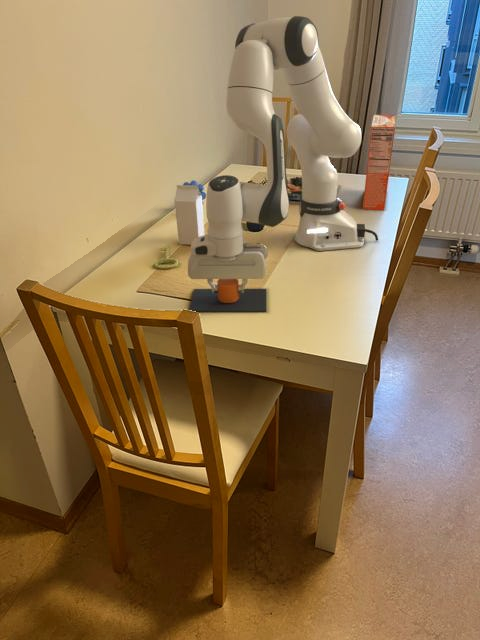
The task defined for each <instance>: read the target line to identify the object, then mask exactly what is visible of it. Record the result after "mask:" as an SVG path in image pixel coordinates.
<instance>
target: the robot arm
mask: <svg viewBox="0 0 480 640" xmlns="http://www.w3.org/2000/svg"><path fill="white" fill-rule="evenodd" d="M280 69H282V72H283V77H284V78H285V83H286V87H287V88H288V92H289V96H290V99H291V102H292V105H293V107H294V109H295V110H296V111H297V112H298V113H299V114H295V115H294V116H293V117H291V119H290V120H289V121H288V124H287V127H286V140H287V142H288V143H289V145H290V146H291V147H292V148H293V150H294V152H295V154H296V156H297V159H298V163H299V167H300V171H301V177H302V197H301V198H300V204H299V222H298V228H297V232H296V235H295V238H294V240H295V242H296V243H297V244H299V245H300V246H303V247H307V248H309V249H310V248H311V249H312V250H314V251H317V252H322V251H323V252H324V251H335V250H345V249H356V248H357V249H358V248H362V247H363V246H364V244H365V235H366V233H367V234H368V233H369V234H372V235H373V236H374V239H375V242H377V241H379V236H378V234H377V233H376V232H375V231H373V230H371V229H367V228H366V224H365V223H357V221H356V220H355V218H354V217H353V216H351V215H350V214H349V213H348V212H346V211H344V210H345V209H346V206H347V205H346V204H345V202H343V200H342V199H341V198H340V197H337V196H338V190H337V186H339V185H338V184H339V174H338V172H337V169H336V168H334V166H333V165H332V163H331V161H330V159H329V158H334V159H345V158H346V159H347V158H351V157H353V156H354V155H355V154H356V153H357V152H358V150H359V149H360V146H361V144H362V130H361V128H360V126H359V124H358V123H356V122H355V121H354V120H352V119H351V118H350V117H349V116H348V115H347V113H346V112H345V110H343V108H342V106H341V105H340V104H339V102H338V100H337V99H336V97H335V95H334V92H333V90H332V86H331V83H330V80H329V76H328V72H327V69H326V65H325V61H324V58H323V54H322V52H321V49H320V46H319V32H318V29H317V27H316V25H315V23H314V22H313V21H312V20H311V19H310V18H309V17H306V16H302V15H295V16H291V17H287V16H285V17H275V18H271V19H268V20H264V21H261V22H260V21H259V22H257V23H255V22H254V23H250V24H248V25H245V26H244V27H242V28H241V29H240V31H239V32H238V34H237V35H236V40H235V44H234V52H233V55H232V59H231V62H230V68H229V72H228V79H227V87H226V88H227V89H226V98H225V100H226V101H225V103H226V105H225V106H226V107H225V108H226V113H227V115H228V117H229V119H230V121H231V122H232V123H233V124H234V125H235V126H236V127H237V128H239V129H240V130H242V131H243V132H246V133H247V134H250V135H251V136H253V137H255V138H257V139H258V140H259V141H260V142H261V143H262V145H263V147H264V148H265V158H266V180H267V184H265V185H263V184H261V183H251V182H247V181H240V180H239V178H237V177H236V176H233V175H229V174H228V175H226V174H225V175H218V176H215V177H214V178H212V179H211V180H209V181H208V183H207V188H206V198H205V199H206V201H205V209H206V210H205V211H206V219H207V222H208V229H207V233H206V234H204V235H203V236H200V237H197V238H195V239H194V240H193V242H192V244H191V245H190V254H189V257H188V261H187V275H188V277H189V279H191V280H207V281H206V282H207V284H208V286H209V287H210V289H212V293H218V285H217V284H216V283H215V282H214V280H219V279H238V280H241V282H242V283H241V284H238V293H244V289H245V287H246V285H247V284H248V282H249V280H263V279H264V278H266V276H267V263H266V259H267V258H268V255H269V254H268V253H269V250H268V247H267V246H265V245H264V244H262V243H260V242H256V243H251V242H250V243H249V242H247V243H246V242H244V228H243V224H242V223H243V222H245V223H252V224H259V225H262V226H266V227H269V228H274V227H276V226H278V225H280V224H281V223H282V222H283V221H285V220H286V219H287V217H288V215H289V209H290V203H289V200H288V191H287V183H286V182H287V181H286V178H287V166H286V165H287V164H286V145H285V143H286V141H285V131H284V125H283V121H282V119H281V117H280V116H278V115H277V114H276V111H275V109H274V104H273V92H274V77H275V76H274V71H277V70H280Z"/></svg>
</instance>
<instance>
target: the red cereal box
mask: <svg viewBox="0 0 480 640" xmlns="http://www.w3.org/2000/svg"><path fill="white" fill-rule="evenodd" d="M395 130H396V115H395V114H373V117H372V121H371V126H370V134H369V146H368V154H367V164H366V174H365V184H364V193H363V201H362V202H363V203H362V210H371V211H373V210H374V211H386V210H385V209H386V200H387V194H388V185H389V178H390V170H391V162H392V154H393V146H394V139H395V132H396V131H395Z"/></svg>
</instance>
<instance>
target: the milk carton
mask: <svg viewBox="0 0 480 640" xmlns="http://www.w3.org/2000/svg"><path fill="white" fill-rule="evenodd" d="M203 207H204V205H203V206H202V194H201V193H200V191H199V189H198V186H192V185H183V184H176V190H175V196H174V209H175V219H176V226H177V227H176V230H177V241H178V245H189V246H191V244H192V242H193V240H194V239H195V238H197V237H200V236H203V235H205V223H204V221H205V220H204V208H203Z"/></svg>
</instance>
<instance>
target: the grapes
mask: <svg viewBox="0 0 480 640" xmlns="http://www.w3.org/2000/svg"><path fill="white" fill-rule="evenodd" d="M182 185H192V186H198V189H199V191H200V193H201V194H202V206H203V207H204V200H205V199H206V196H207V192H205V191H204V188H205V187H204V185H203V184H201V183H198V182H197V180H194V179H193V180H191V181H190V182H188V181H185V182H184V183H182Z"/></svg>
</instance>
